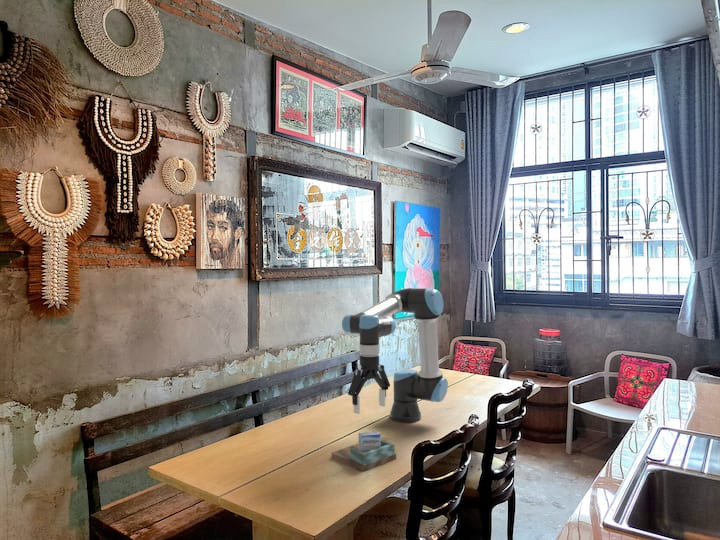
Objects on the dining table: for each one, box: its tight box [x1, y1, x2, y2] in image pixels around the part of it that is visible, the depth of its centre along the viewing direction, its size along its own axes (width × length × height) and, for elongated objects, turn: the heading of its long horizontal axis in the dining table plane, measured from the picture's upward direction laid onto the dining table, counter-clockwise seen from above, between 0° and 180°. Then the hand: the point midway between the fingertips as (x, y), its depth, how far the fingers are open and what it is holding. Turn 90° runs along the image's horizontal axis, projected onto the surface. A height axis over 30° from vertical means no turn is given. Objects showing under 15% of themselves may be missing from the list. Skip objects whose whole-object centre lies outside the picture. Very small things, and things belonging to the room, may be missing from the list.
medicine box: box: [358, 430, 382, 453], centre depth 195 cm, size 8×4×9 cm, turn 105°
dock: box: [331, 438, 397, 473], centre depth 198 cm, size 18×18×6 cm
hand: (369, 409), depth 195 cm, fingers open, 13 cm apart
